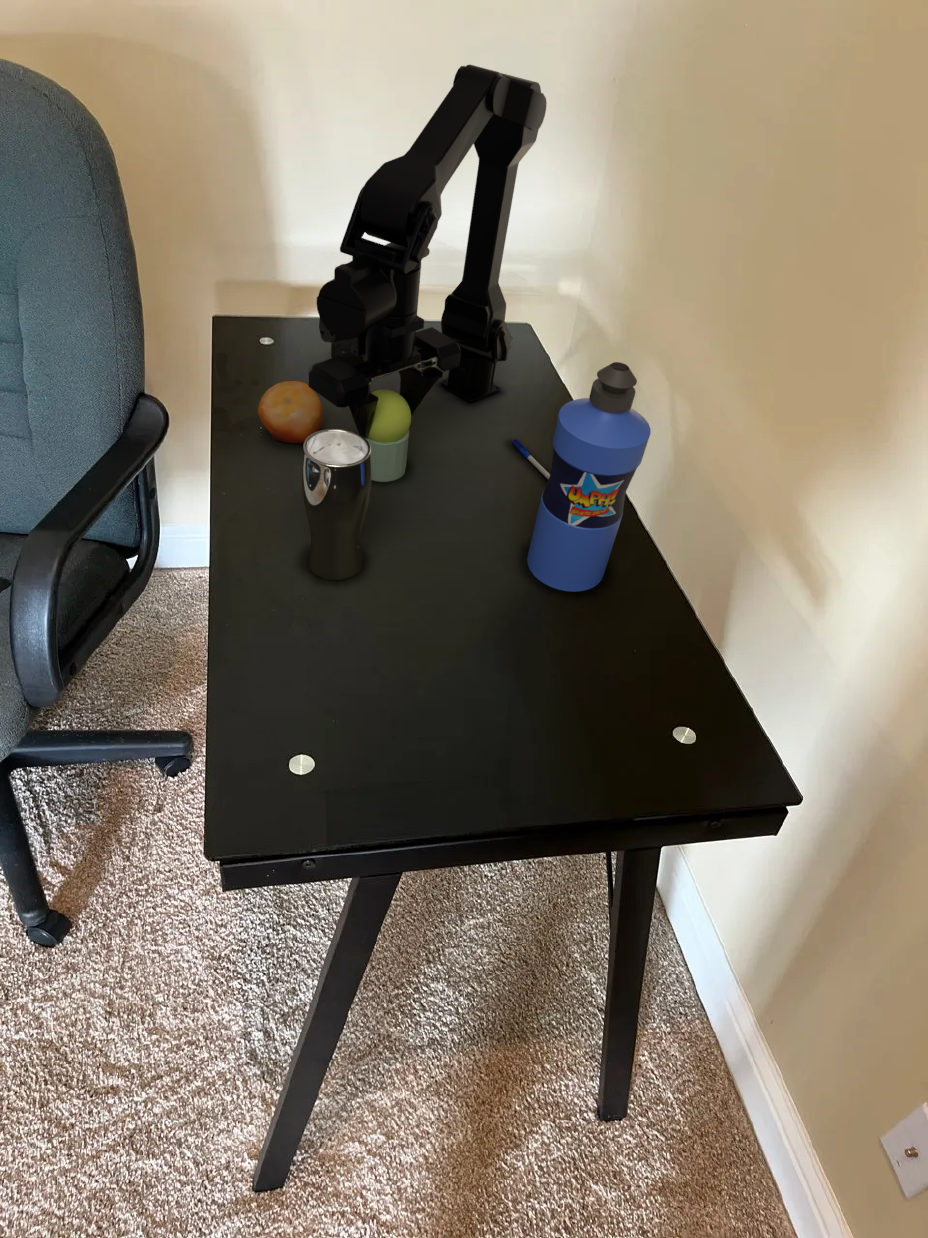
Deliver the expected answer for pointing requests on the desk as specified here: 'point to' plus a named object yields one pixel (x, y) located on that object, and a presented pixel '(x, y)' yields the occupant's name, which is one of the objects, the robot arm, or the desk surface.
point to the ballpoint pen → (530, 457)
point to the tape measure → (346, 354)
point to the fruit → (291, 411)
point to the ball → (390, 417)
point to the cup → (388, 459)
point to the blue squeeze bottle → (588, 482)
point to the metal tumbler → (336, 500)
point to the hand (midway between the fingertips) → (383, 429)
